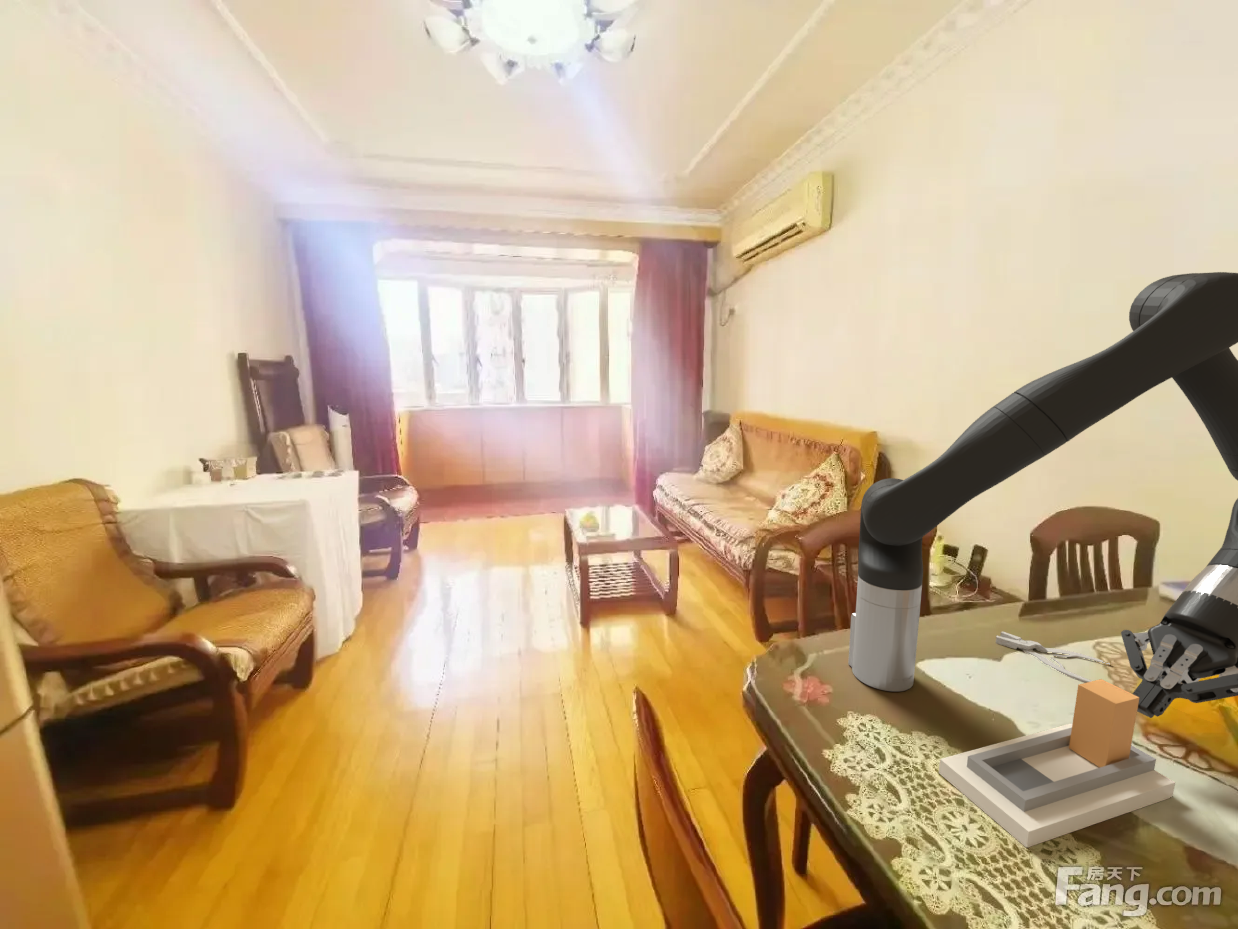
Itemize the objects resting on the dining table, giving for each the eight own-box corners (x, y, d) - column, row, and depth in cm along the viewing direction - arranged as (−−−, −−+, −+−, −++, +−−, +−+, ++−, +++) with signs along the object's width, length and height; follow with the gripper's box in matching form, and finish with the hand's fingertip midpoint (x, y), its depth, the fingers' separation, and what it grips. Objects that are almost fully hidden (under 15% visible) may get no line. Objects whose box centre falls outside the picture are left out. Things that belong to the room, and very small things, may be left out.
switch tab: (1068, 748, 67) (1078, 684, 65) (1091, 741, 68) (1101, 679, 66) (1104, 770, 63) (1115, 703, 61) (1128, 763, 64) (1139, 697, 62)
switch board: (938, 772, 66) (941, 748, 65) (1070, 735, 72) (1074, 713, 71) (1026, 847, 55) (1030, 819, 55) (1172, 796, 61) (1177, 771, 61)
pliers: (1098, 679, 82) (988, 642, 94) (1096, 688, 83) (987, 650, 95) (1113, 658, 88) (1008, 625, 100) (1111, 667, 88) (1007, 633, 100)
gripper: (1147, 573, 72) (1071, 668, 71) (1289, 615, 60) (1199, 731, 59) (1167, 603, 75) (1094, 696, 74) (1307, 649, 62) (1221, 762, 61)
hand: (1141, 711), depth 66 cm, fingers closed
